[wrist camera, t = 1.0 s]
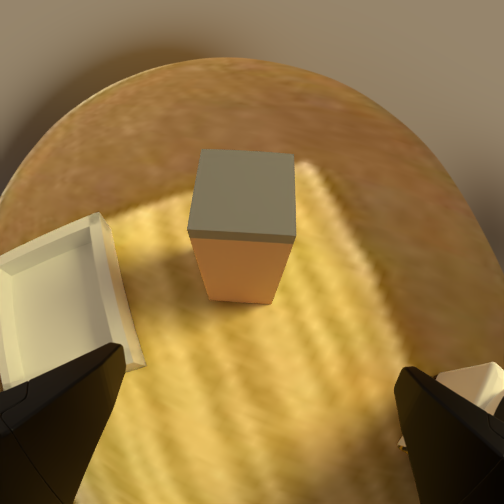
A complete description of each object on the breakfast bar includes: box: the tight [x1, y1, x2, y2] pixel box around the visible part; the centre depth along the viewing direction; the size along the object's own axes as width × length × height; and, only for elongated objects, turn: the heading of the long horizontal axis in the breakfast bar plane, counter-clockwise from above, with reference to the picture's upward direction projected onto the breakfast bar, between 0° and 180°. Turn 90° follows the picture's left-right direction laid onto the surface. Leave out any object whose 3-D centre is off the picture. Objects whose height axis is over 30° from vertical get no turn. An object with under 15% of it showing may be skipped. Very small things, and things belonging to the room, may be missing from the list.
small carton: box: [397, 362, 504, 454], centre depth 14 cm, size 7×7×12 cm
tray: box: [0, 212, 147, 391], centre depth 21 cm, size 12×12×3 cm
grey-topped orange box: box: [187, 149, 296, 304], centre depth 19 cm, size 5×5×11 cm
